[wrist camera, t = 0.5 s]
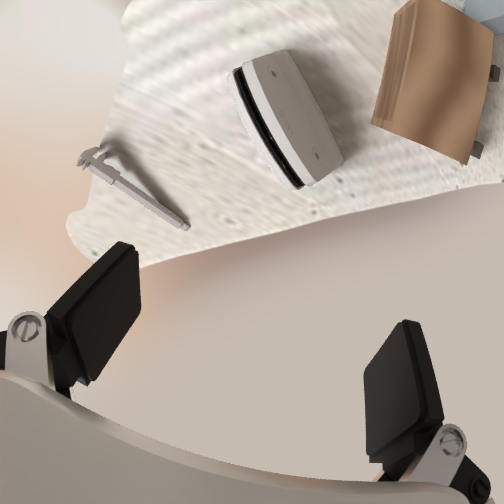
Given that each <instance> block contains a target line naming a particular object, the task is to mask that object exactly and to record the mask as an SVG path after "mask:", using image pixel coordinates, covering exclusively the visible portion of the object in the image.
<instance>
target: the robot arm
mask: <svg viewBox="0 0 504 504" xmlns="http://www.w3.org/2000/svg"><path fill="white" fill-rule="evenodd" d="M140 311H141V296H140V278H139V254H138V251H136V250H135V247H134V246H133V245H131V244H127V243H124V242H121V241H119V242H117V243H116V244H115V245H114V246H112V247H111V248H110V249H109V250H108V251H107V252H106V253H105V254H104V255H103V256H102V257H101V258H100V259H99V260H97V261H96V262H95V263H94V264H93V265H92V266H91V267H90V268H89V269H88V270H87V271H86V272H85V273H84V274H83V275H82V276H81V277H80V278H79V279H78V280H77V281H76V282H75V283H74V284H73V285H72V286H71V287H70V288H69V289H68V290H67V291H66V292H65V293H64V294H63V295H62V296H61V297H60V299H59V300H58V301H57V302H56V303H55V304H54V305H53V306H52V307H51V308H50V309H49V310H48V311H47V314H46V315H45V316H44V317H43V316H42V315H40V314H39V313H37V312H33V311H27V312H23V313H20V314H19V315H17V316H15V317H14V319H12V321H11V322H10V324H9V326H8V330H7V331H2V332H0V504H495V502H494V500H493V499H492V497H491V498H489V495H490V491H491V486H490V481H489V479H488V477H487V476H486V475H485V474H484V473H483V472H482V471H481V470H480V469H479V468H478V467H477V466H476V465H475V464H474V463H473V462H472V461H471V460H470V459H469V458H468V457H467V456H466V455H465V453H466V449H467V441H466V437H465V435H464V433H463V431H462V430H461V429H460V428H459V427H458V426H456V425H454V424H445V425H443V423H442V421H443V420H444V413H443V408H442V404H441V399H440V394H439V390H438V386H437V381H436V378H435V374H434V370H433V366H432V362H431V358H430V355H429V351H428V348H427V345H426V341H425V338H424V335H423V332H422V329H421V325H420V323H418V322H415V321H411V320H403V321H402V322H399V323H398V324H397V325H396V326H395V328H394V329H393V331H392V332H391V334H390V335H389V336H388V338H387V340H386V341H385V342H384V344H383V345H382V347H381V348H380V349H379V351H378V352H377V354H376V355H375V356H374V358H373V359H372V360H371V362H370V363H369V364H368V366H367V367H366V368H365V371H364V391H365V415H366V453H367V455H369V462H370V463H382V464H383V469H382V470H381V471H380V473H379V474H378V475H377V476H376V477H375V479H374V480H373V481H372V482H364V481H363V482H362V481H339V480H325V479H315V478H306V477H298V476H291V475H284V474H278V473H272V472H266V471H261V470H256V469H251V468H247V467H242V466H238V465H234V464H230V463H226V462H222V461H218V460H215V459H211V458H208V457H204V456H201V455H198V454H194V453H191V452H188V451H185V450H182V449H179V448H176V447H173V446H171V445H168V444H165V443H162V442H160V441H157V440H154V439H152V438H149V437H147V436H145V435H142V434H139V433H137V432H135V431H132V430H130V429H128V428H126V427H124V426H121V425H119V424H117V423H115V422H113V421H111V420H109V419H107V418H105V417H103V416H101V415H99V414H97V413H95V412H92V411H91V410H89V409H87V408H85V407H83V406H81V405H79V404H77V403H76V402H75V398H74V392H73V388H72V387H73V385H74V384H75V382H76V381H78V382H80V383H82V384H84V385H85V386H88V385H89V383H90V382H91V381H95V380H96V379H97V378H98V376H99V375H100V373H101V371H102V370H103V368H104V367H105V365H106V364H107V362H108V361H109V359H110V358H111V356H112V354H113V353H114V351H115V350H116V348H117V347H118V345H119V344H120V342H121V341H122V339H123V338H124V336H125V335H126V333H127V332H128V330H129V328H130V327H131V326H132V325H133V323H134V322H135V320H136V318H137V317H138V316H139V314H140ZM488 498H489V499H488Z"/></svg>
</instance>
